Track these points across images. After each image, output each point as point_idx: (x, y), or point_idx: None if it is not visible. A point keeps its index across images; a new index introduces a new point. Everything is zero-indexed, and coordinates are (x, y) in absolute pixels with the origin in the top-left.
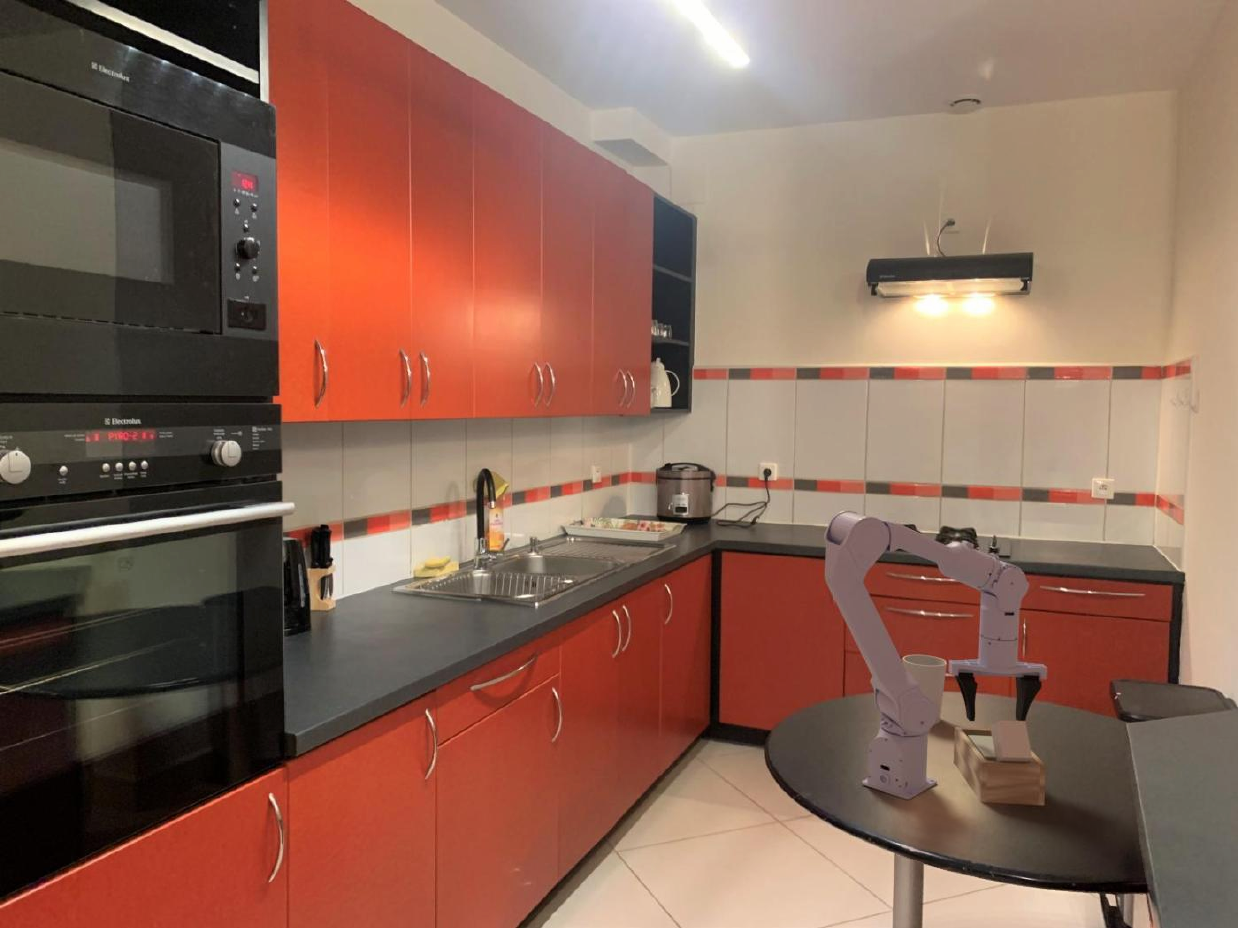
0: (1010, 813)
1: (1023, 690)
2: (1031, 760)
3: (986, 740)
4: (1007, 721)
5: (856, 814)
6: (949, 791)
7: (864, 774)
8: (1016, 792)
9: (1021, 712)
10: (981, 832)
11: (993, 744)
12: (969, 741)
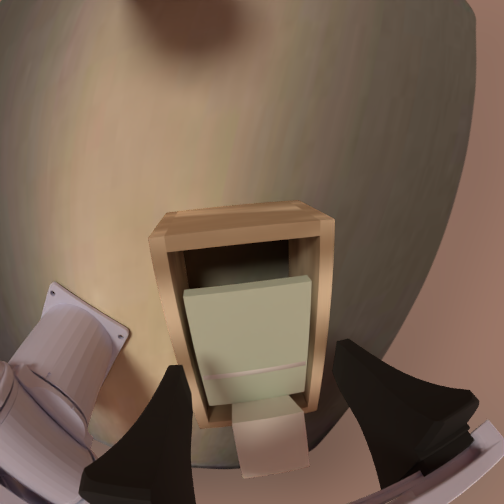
0: None
1: (380, 455)
2: (307, 376)
3: (231, 324)
4: (266, 474)
5: None
6: (151, 354)
7: (28, 312)
8: None
9: (346, 397)
10: (192, 434)
11: (244, 345)
12: (182, 346)
